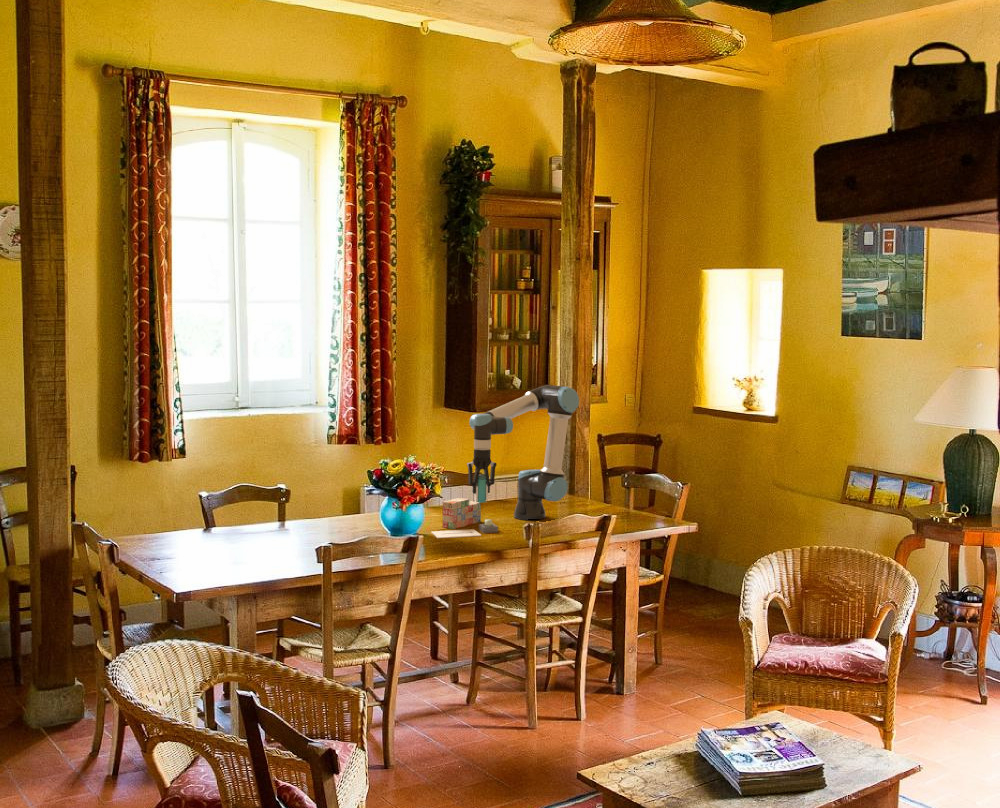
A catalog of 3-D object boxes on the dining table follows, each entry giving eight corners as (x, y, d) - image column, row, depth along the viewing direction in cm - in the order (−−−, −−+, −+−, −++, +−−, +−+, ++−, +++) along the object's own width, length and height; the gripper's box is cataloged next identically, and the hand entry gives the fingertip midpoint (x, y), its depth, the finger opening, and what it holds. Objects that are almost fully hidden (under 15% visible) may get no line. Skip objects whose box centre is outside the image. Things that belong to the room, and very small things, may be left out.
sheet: (473, 530, 505) (473, 529, 505) (481, 535, 493) (481, 534, 493) (431, 532, 499) (431, 531, 499) (437, 538, 487) (437, 537, 487)
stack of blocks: (470, 520, 527) (470, 494, 526) (480, 521, 523) (481, 496, 522) (442, 527, 510) (442, 501, 508) (452, 529, 506) (453, 502, 505)
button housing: (493, 528, 508) (493, 523, 508) (498, 532, 501) (498, 526, 501) (478, 529, 506) (478, 524, 506) (483, 532, 499) (483, 527, 499)
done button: (490, 526, 506) (491, 519, 505) (493, 528, 502) (493, 520, 502) (483, 527, 505) (483, 519, 504) (485, 528, 501) (486, 521, 501)
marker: (483, 500, 499) (484, 474, 497) (486, 502, 495) (487, 475, 494) (475, 501, 497) (475, 474, 496) (478, 502, 493) (478, 476, 492)
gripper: (497, 447, 500) (496, 498, 502) (461, 447, 494) (460, 499, 497) (503, 449, 493) (501, 501, 495) (466, 450, 487) (465, 502, 490)
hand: (480, 500), depth 496 cm, fingers closed on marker, 4 cm apart
